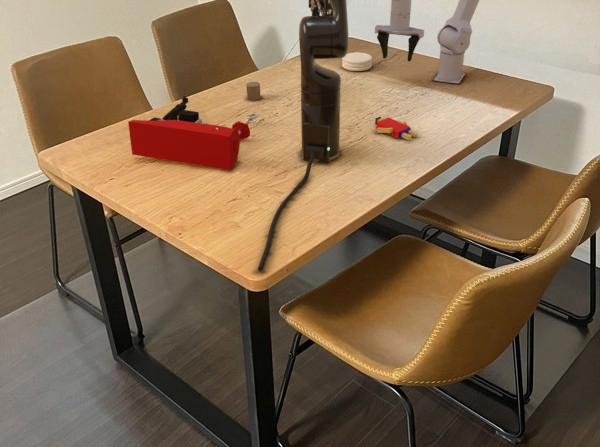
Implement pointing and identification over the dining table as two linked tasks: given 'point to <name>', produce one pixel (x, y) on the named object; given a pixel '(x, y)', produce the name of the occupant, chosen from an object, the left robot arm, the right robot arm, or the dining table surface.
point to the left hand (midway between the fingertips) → (320, 28)
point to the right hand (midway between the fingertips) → (397, 58)
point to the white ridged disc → (357, 61)
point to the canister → (253, 91)
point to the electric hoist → (188, 139)
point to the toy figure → (394, 128)
